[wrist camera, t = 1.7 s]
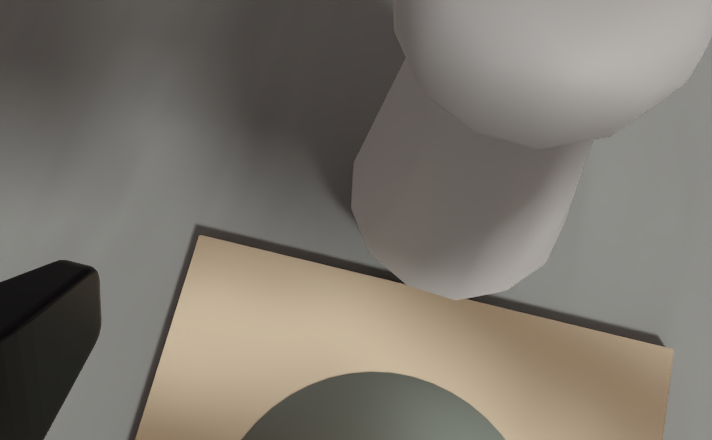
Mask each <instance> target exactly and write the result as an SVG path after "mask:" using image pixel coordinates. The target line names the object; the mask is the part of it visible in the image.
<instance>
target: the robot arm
mask: <svg viewBox="0 0 712 440" xmlns="http://www.w3.org/2000/svg"><path fill="white" fill-rule="evenodd" d="M100 329H101V301H100V280H99V275H98V272H97V271H96V269H94V268H93V267H91V266H88V265H84V264H80V263H76V262H72V261H68V260H59V261H56V262H53V263H50V264H47V265H45V266H42V267H39V268H37V269H34V270H32V271H29V272H26V273H24V274H21V275H18V276H16V277H13V278H10V279H8V280H5V281H3V282H0V440H44V438H45V436H46V434H47V432H48V431H49V429H50V427H51V425H52V423H53V421H54V419H55V418H56V416H57V414H58V412H59V410H60V408H61V407H62V405H63V403H64V401H65V399H66V397H67V395H68V394H69V392H70V390H71V388H72V386H73V384H74V382H75V381H76V379H77V377H78V375H79V373H80V371H81V370H82V368H83V366H84V364H85V362H86V360H87V358H88V357H89V355H90V353H91V351H92V349H93V347H94V345H95V344H96V341H97V339H98V336H99V333H100Z"/></svg>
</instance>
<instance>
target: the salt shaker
mask: <svg viewBox="0 0 712 440" xmlns="http://www.w3.org/2000/svg"><path fill="white" fill-rule="evenodd" d="M393 20H394V33H395V35H396V37H397V39H398V42H399V44H400V46H401V48H402V50H403V52H404V55H405V57H406V58H405V60H404V62H403V64H402V66H401V68H400V70H399V72H398V74H397V76H396V78H395V80H394V82H393V84H392V86H391V88H390V90H389V92H388V94H387V96H386V98H385V100H384V102H383V104H382V106H381V108H380V110H379V112H378V114H377V116H376V118H375V120H374V122H373V124H372V126H371V129H370V131H369V133H368V135H367V137H366V139H365V141H364V143H363V145H362V147H361V149H360V151H359V153H358V155H357V157H356V159H355V161H354V164H353V182H352V201H351V209H352V212H353V214H354V217H355V219H356V222H357V224H358V227H359V229H360V231H361V234H362V236H363V239H364V241H365V244H366V246H367V249H368V251H369V253H370V254H371V255H372V256H373V257H374V258H375V259H376V260H378V261H379V262H380V263H381V264H382V265H384V266H385V267H386V268H387V269H388V270H389V271H391V272H392V273H393V274H394V275H395V276H397V277H398V278H399V279H400V280H401V281H403V282H404V283H405V284H406V285H407V286H410V287H414V288H417V289H420V290H423V291H427V292H430V293H433V294H436V295H440V296H443V297H446V298H449V299H452V300H461V299H467V298H472V297H477V296H482V295H487V294H493V293H498V292H503V291H506V290H508V289H509V288H511V287H512V286H514V285H515V284H517V283H518V282H519V281H521V280H522V279H524V278H525V277H527V276H528V275H530V274H531V273H532V272H534V271H535V270H537V269H538V268H540V267H541V266H542V265H544V264H545V263H546V262H547V260H548V257H549V255H550V253H551V251H552V249H553V247H554V245H555V242H556V240H557V238H558V236H559V234H560V232H561V230H562V227H563V225H564V223H565V221H566V218H567V215H568V212H569V209H570V206H571V203H572V200H573V197H574V194H575V191H576V187H577V184H578V181H579V178H580V175H581V172H582V169H583V166H584V163H585V160H586V158H587V155H588V153H589V150H590V148H591V145H592V142H593V140H594V139H600V138H606V137H610V136H612V135H613V134H615V133H616V132H618V131H619V130H620V129H622V128H623V127H625V126H626V125H628V124H629V123H631V122H632V121H634V120H635V119H636V118H638V117H639V116H641V115H642V114H644V113H645V112H647V111H648V110H649V109H651V108H652V107H654V106H655V105H657V104H658V103H660V102H661V101H663V100H664V99H665V98H666V97H668V96H669V95H670V94H672V93H673V92H674V91H675V90H677V89H678V88H679V87H680V86H682V85H683V84H684V83H685V82H687V81H688V79H689V78H690V76H691V74H692V72H693V71H694V69H695V67H696V65H697V64H698V62H699V60H700V59H701V57H702V55H703V53H704V52H705V50H706V48H707V45H708V43H709V41H710V39H711V37H712V0H393Z"/></svg>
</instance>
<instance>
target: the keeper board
mask: <svg viewBox="0 0 712 440" xmlns="http://www.w3.org/2000/svg"><path fill="white" fill-rule="evenodd" d="M673 354H674V349H671V348H667V347H663V346H658V345H654V344H650V343H646V342H642V341H638V340H634V339H629V338H625V337H621V336H617V335H613V334H609V333H605V332H601V331H596V330H592V329H588V328H584V327H580V326H576V325H572V324H567V323H563V322H559V321H555V320H551V319H547V318H543V317H538V316H534V315H530V314H526V313H522V312H518V311H514V310H509V309H505V308H501V307H497V306H493V305H489V304H485V303H480V302H476V301H472V300H468V299H461V300H452V299H449V298H446V297H443V296H440V295H436V294H433V293H430V292H427V291H423V290H420V289H417V288H414V287H410V286H407V285H406V284H402V283H398V282H394V281H389V280H385V279H381V278H377V277H373V276H369V275H365V274H360V273H356V272H352V271H348V270H344V269H340V268H336V267H332V266H327V265H323V264H319V263H315V262H311V261H307V260H303V259H298V258H294V257H290V256H286V255H282V254H278V253H274V252H269V251H265V250H261V249H257V248H253V247H249V246H245V245H240V244H236V243H232V242H228V241H224V240H220V239H216V238H212V237H207V236H203V235H199V237H198V241H197V244H196V247H195V250H194V253H193V257H192V260H191V263H190V266H189V269H188V273H187V276H186V279H185V282H184V285H183V289H182V292H181V295H180V298H179V301H178V304H177V308H176V311H175V314H174V317H173V320H172V324H171V327H170V330H169V333H168V336H167V340H166V343H165V346H164V349H163V352H162V355H161V359H160V362H159V365H158V368H157V371H156V375H155V378H154V381H153V384H152V387H151V391H150V394H149V397H148V400H147V403H146V406H145V410H144V413H143V416H142V419H141V422H140V426H139V429H138V432H137V435H136V438H135V440H663V433H664V425H665V417H666V409H667V402H668V394H669V386H670V378H671V370H672V362H673Z"/></svg>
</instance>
